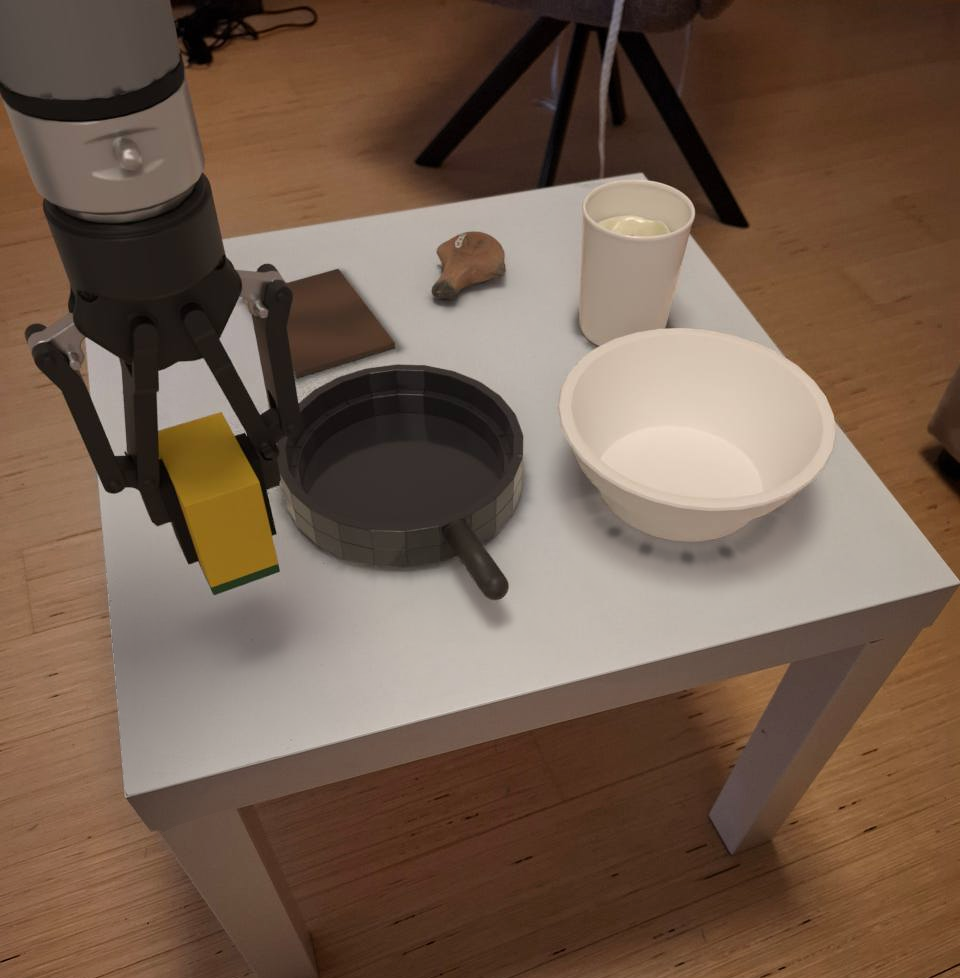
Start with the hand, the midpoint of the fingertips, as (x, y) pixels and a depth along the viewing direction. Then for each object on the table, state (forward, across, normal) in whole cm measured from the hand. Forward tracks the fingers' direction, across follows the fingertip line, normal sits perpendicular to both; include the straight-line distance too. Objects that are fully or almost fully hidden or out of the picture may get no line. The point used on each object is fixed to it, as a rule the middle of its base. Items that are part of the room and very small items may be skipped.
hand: (226, 535), depth 61 cm
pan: (+10, +16, +9) cm, 21 cm away
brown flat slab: (+10, +18, +33) cm, 39 cm away
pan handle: (+7, +16, -4) cm, 18 cm away
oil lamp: (+10, +34, +33) cm, 48 cm away
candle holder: (+10, +44, +19) cm, 49 cm away
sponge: (+1, 0, 0) cm, 1 cm away
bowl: (+10, +36, -2) cm, 38 cm away
